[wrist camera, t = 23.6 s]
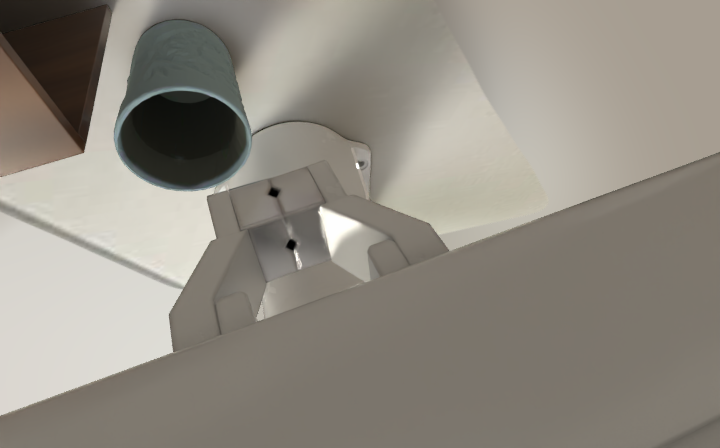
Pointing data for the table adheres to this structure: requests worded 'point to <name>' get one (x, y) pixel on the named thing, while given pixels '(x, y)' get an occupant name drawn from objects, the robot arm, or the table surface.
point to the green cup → (182, 110)
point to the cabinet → (49, 88)
